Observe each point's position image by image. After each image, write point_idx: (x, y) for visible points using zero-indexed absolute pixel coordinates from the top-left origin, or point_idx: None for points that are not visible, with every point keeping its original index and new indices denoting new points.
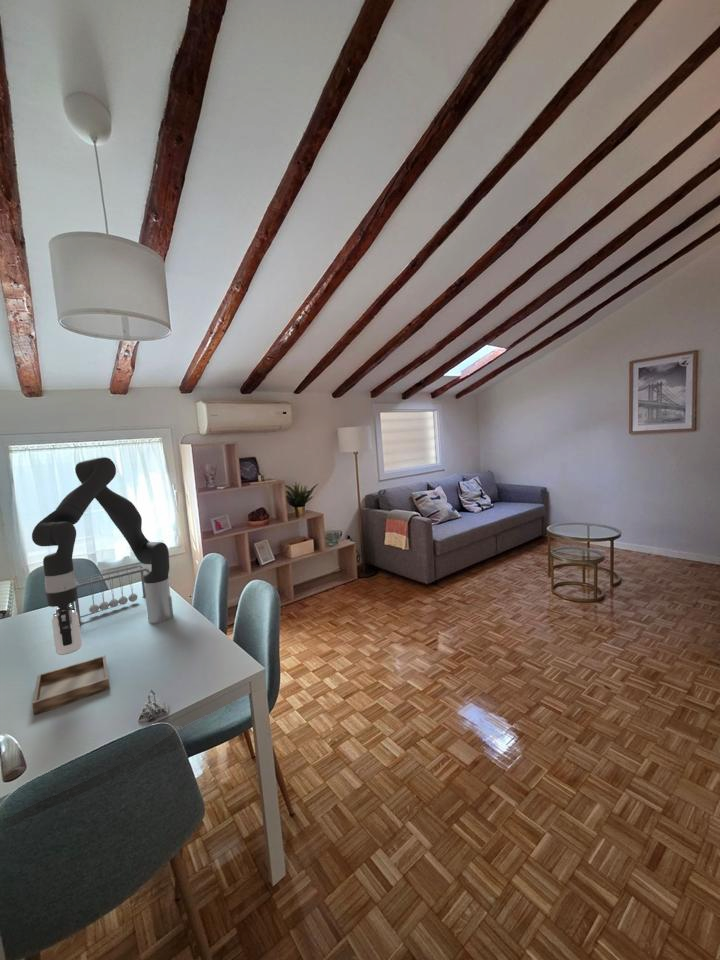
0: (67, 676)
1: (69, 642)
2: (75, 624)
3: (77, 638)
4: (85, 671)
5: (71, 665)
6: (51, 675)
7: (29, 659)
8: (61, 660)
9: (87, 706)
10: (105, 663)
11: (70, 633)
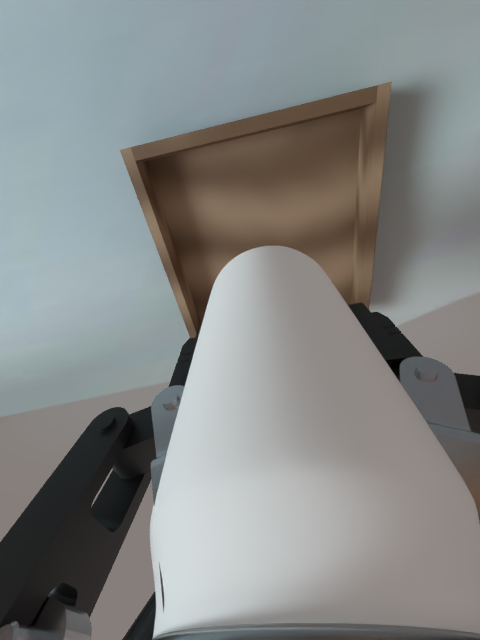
0: (195, 272)
1: (383, 318)
2: (376, 366)
3: (325, 281)
4: (184, 222)
5: (168, 273)
6: (194, 315)
7: (42, 377)
8: (62, 310)
9: (429, 168)
10: (211, 131)
11: (398, 351)
